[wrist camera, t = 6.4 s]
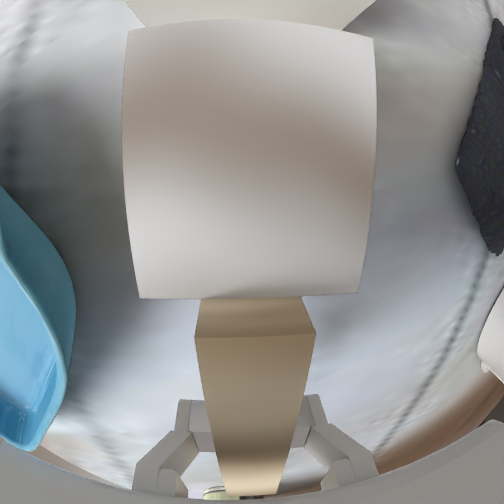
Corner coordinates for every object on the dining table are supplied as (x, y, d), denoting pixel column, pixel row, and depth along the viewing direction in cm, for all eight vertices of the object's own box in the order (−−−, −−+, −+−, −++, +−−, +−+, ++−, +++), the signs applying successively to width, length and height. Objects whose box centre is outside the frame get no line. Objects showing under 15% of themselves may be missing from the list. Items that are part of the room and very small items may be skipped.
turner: (295, 436, 14) (306, 489, 10) (198, 440, 13) (195, 495, 10) (340, 60, 7) (405, 18, 3) (153, 57, 7) (102, 5, 3)
